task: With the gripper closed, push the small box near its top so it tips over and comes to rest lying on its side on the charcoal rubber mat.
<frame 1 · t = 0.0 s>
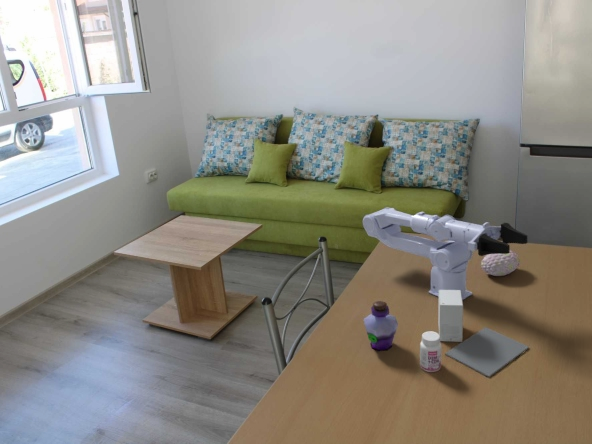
hand: (517, 244, 135), 22 cm above the table, fingers open, 7 cm apart
mat: (487, 351, 132), on the table
potion bottle: (381, 345, 138), on the table
small box: (449, 333, 140), on the table
decorative item: (499, 274, 167), on the table
pill bottle: (430, 367, 129), on the table
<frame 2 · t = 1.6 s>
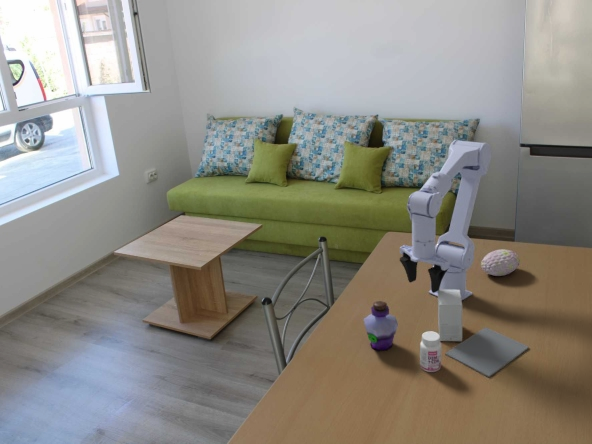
hand: (423, 285, 143), 10 cm above the table, fingers open, 7 cm apart
small box: (449, 333, 140), on the table, touching gripper
everything else where it was.
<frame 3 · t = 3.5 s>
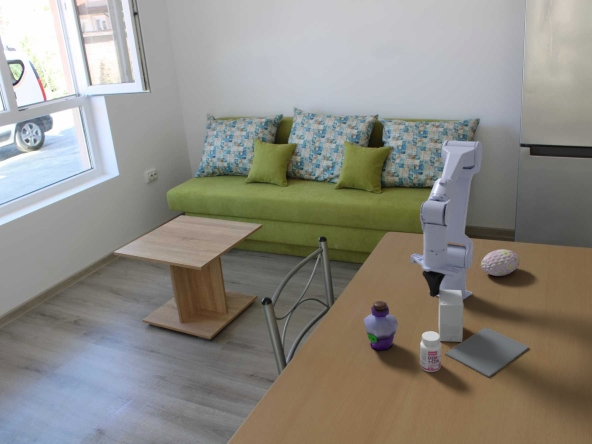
hand: (434, 295, 141), 9 cm above the table, fingers closed, pressing on small box
small box: (449, 333, 140), on the table, touching gripper
everything else where it was.
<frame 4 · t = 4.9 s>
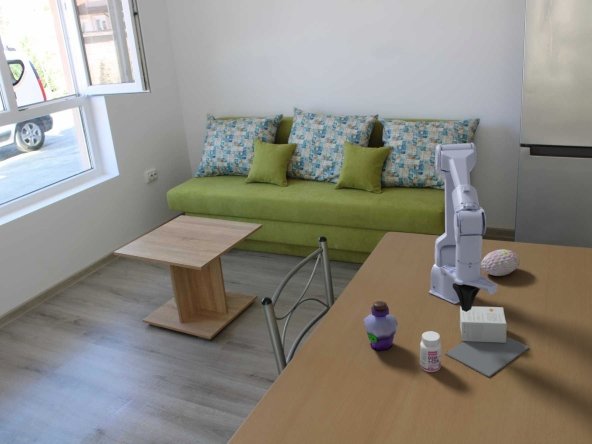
hand: (466, 309, 133), 9 cm above the table, fingers closed
small box: (459, 323, 139), point 3 cm above the table, touching mat
everything else where it was.
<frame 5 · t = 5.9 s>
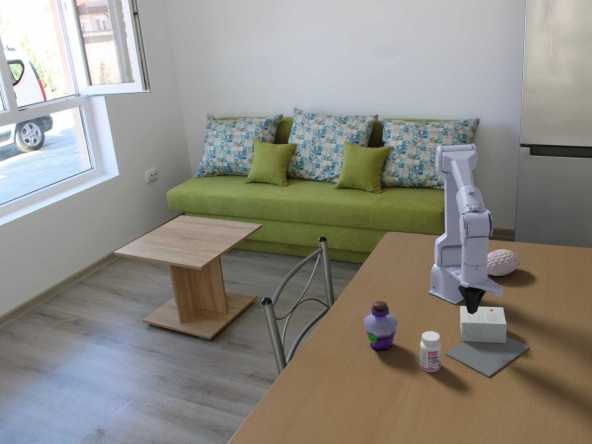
hand: (472, 312, 132), 9 cm above the table, fingers closed
nothing on the table moved.
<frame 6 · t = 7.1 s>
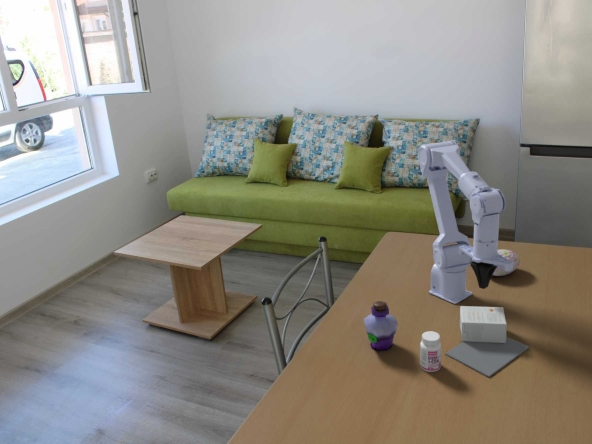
hand: (483, 287, 140), 10 cm above the table, fingers closed
nothing on the table moved.
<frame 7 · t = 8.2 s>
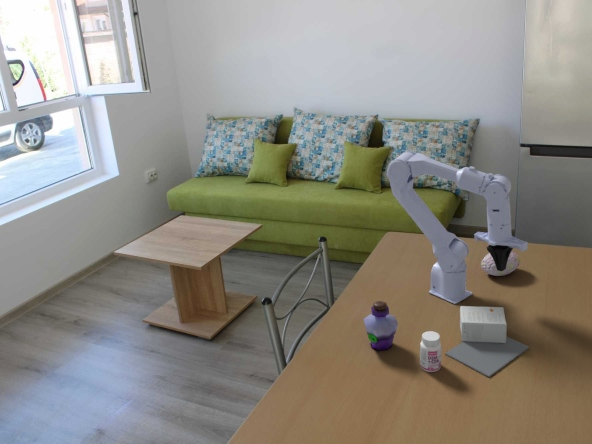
hand: (501, 269, 147), 11 cm above the table, fingers closed
nothing on the table moved.
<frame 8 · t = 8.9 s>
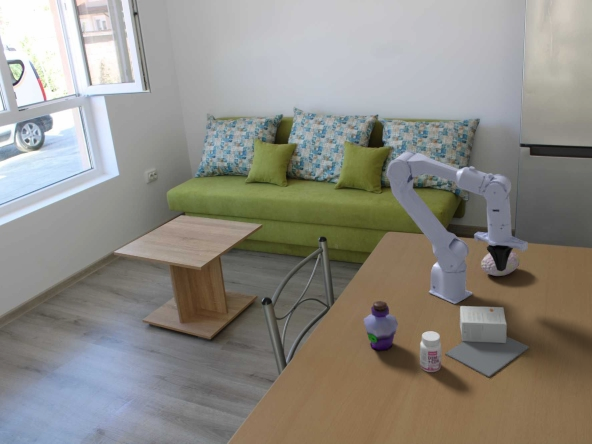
hand: (501, 269, 147), 11 cm above the table, fingers closed
nothing on the table moved.
at the end: small box tilted 90°; small box touching mat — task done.
